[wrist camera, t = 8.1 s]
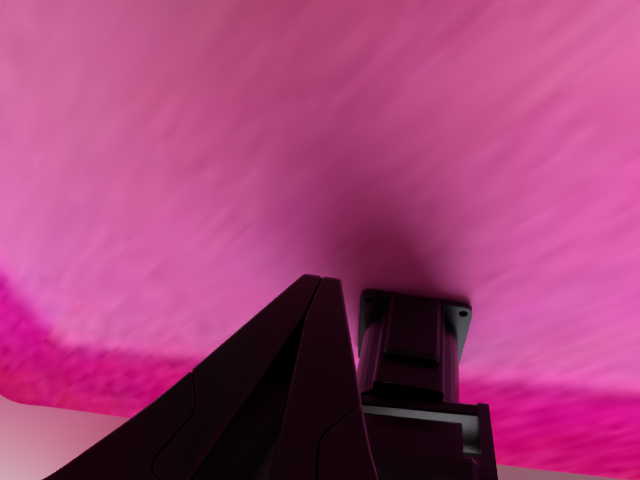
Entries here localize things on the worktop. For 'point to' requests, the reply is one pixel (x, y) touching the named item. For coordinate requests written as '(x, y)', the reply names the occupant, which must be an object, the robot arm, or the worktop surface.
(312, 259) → the worktop surface
